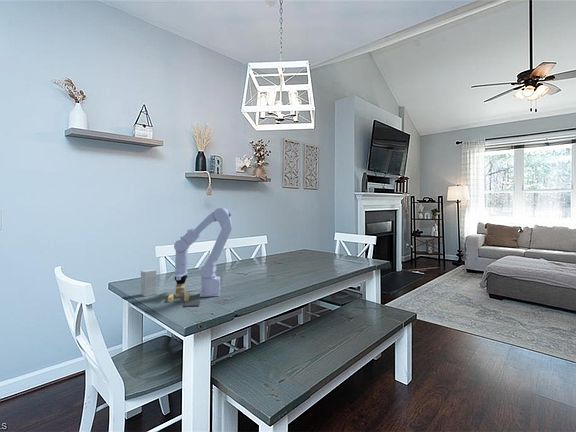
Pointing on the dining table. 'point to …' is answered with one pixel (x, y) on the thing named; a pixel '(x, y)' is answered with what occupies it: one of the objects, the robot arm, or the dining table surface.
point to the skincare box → (148, 282)
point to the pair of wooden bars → (173, 297)
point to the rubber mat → (192, 303)
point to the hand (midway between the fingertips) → (180, 290)
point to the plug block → (180, 290)
